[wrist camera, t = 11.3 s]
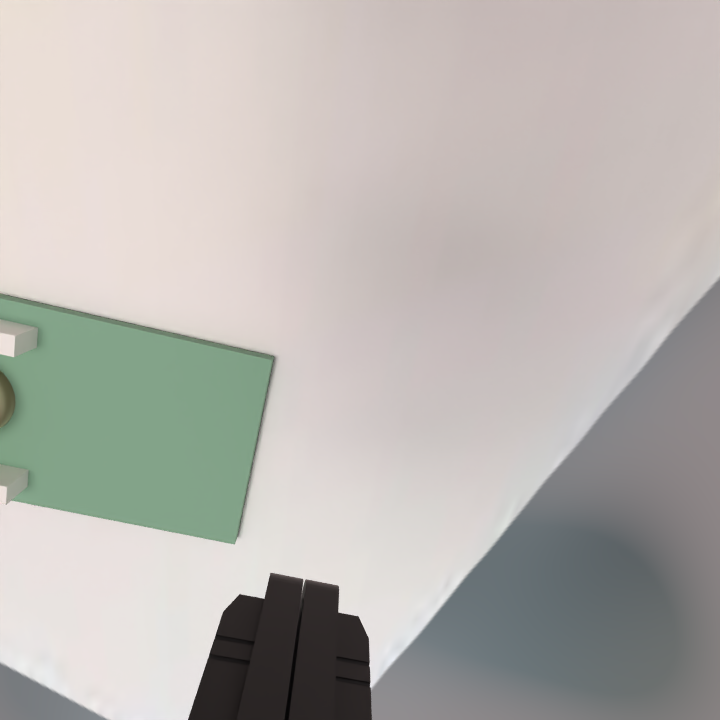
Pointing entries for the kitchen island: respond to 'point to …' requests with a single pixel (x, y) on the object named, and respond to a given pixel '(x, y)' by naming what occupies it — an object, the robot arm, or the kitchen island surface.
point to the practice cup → (13, 341)
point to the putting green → (132, 421)
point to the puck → (6, 400)
